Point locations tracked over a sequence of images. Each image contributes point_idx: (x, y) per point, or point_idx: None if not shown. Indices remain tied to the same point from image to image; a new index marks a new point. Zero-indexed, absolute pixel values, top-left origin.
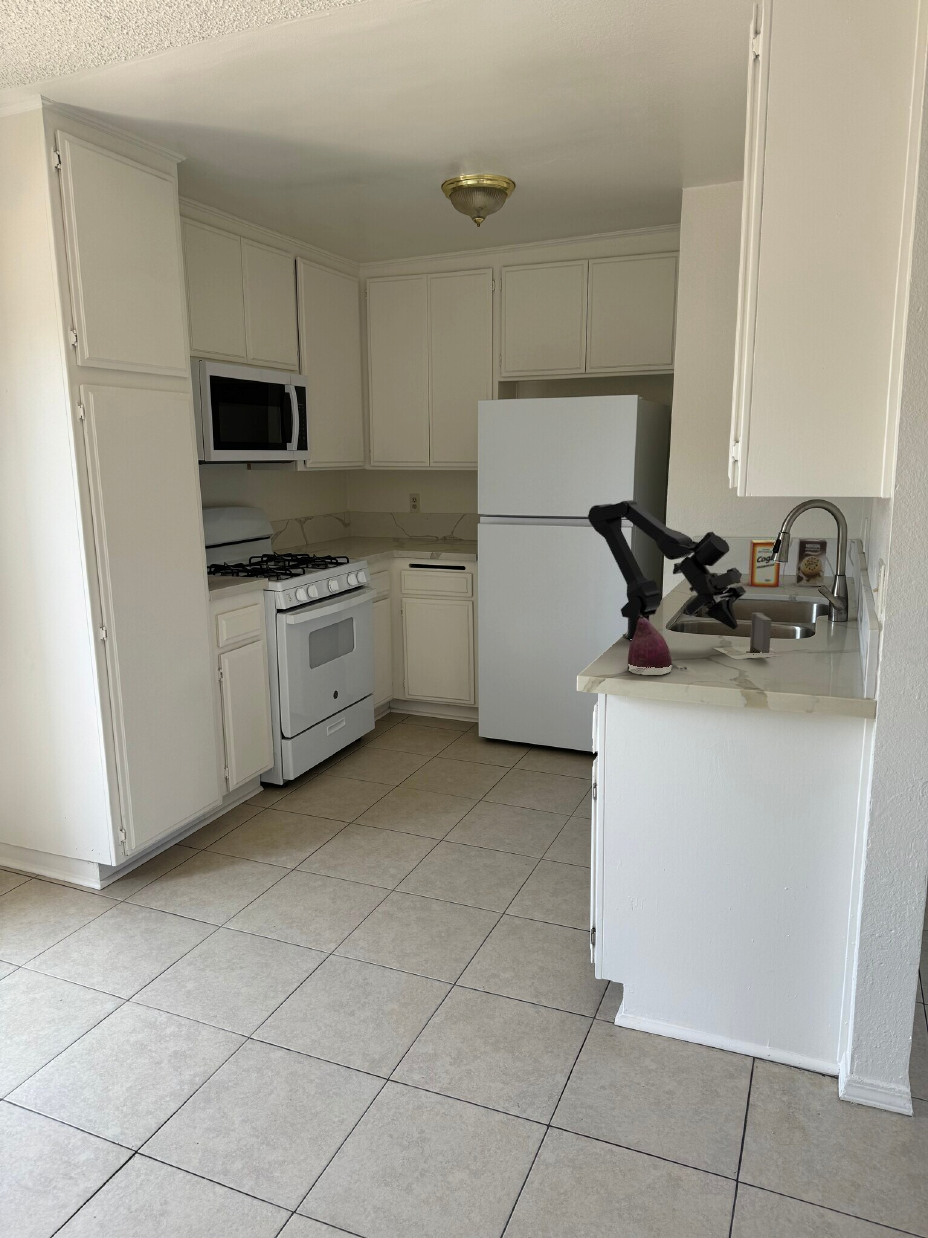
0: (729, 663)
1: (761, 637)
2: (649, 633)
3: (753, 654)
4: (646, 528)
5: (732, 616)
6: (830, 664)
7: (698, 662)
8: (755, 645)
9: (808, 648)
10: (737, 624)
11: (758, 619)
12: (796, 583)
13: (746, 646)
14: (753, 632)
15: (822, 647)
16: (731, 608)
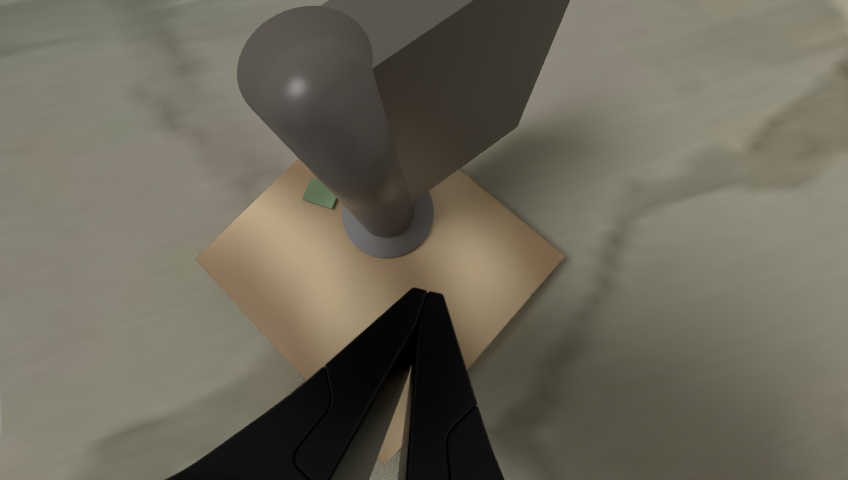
0: (546, 291)
1: (522, 83)
2: None
3: (433, 206)
4: None
5: (395, 364)
6: None
7: (626, 441)
8: (437, 178)
9: (117, 89)
10: (405, 295)
11: (471, 30)
12: None
13: (262, 297)
14: (398, 174)
15: (82, 52)
16: (276, 448)
